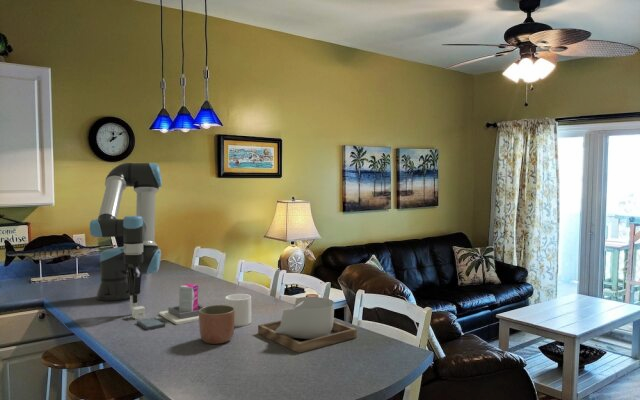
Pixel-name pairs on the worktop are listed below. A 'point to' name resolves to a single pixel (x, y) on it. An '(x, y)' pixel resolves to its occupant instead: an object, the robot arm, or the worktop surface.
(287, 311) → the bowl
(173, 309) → the plate
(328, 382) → the worktop surface
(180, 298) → the supplement box
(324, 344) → the wooden tray
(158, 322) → the phone
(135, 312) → the white cube
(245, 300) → the mug
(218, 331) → the planter
